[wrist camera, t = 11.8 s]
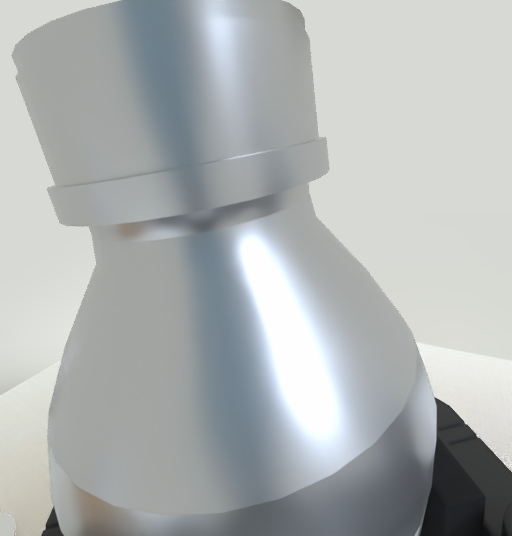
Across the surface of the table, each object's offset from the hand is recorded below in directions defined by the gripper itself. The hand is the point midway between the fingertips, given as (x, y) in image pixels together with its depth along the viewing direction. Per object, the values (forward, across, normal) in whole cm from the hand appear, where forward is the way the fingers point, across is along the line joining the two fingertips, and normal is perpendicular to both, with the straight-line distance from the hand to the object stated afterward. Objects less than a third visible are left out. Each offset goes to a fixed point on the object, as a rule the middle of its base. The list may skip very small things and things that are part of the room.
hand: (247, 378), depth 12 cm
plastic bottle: (-5, 0, -11) cm, 12 cm away
